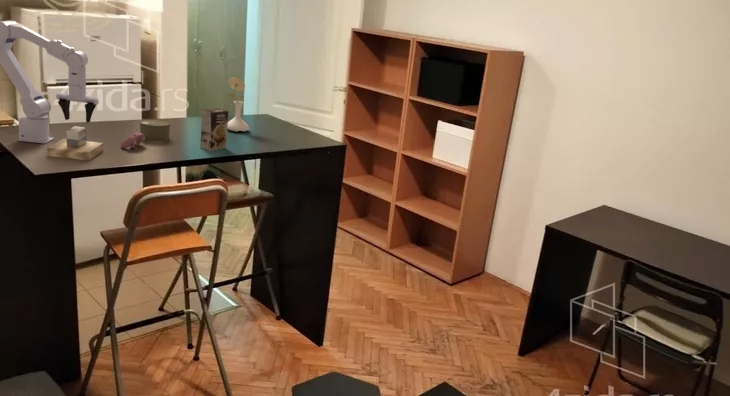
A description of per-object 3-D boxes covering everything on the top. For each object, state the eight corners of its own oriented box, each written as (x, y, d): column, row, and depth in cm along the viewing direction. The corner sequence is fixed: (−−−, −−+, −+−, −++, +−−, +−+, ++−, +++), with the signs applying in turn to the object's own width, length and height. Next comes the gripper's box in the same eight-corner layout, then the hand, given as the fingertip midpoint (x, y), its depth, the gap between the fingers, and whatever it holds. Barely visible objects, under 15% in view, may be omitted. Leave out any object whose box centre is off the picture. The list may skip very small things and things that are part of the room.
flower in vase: (253, 132, 281) (257, 80, 273) (236, 134, 271) (240, 80, 263) (234, 125, 287) (237, 75, 279) (217, 128, 278) (220, 75, 270)
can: (175, 140, 247) (175, 124, 244) (148, 142, 238) (148, 126, 236) (160, 133, 254) (161, 118, 252) (134, 135, 245) (134, 119, 243)
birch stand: (47, 156, 204) (47, 147, 203) (64, 146, 218) (64, 138, 217) (89, 160, 206) (88, 152, 205) (103, 150, 219) (103, 143, 218)
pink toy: (128, 153, 225) (135, 139, 223) (118, 146, 225) (126, 132, 223) (142, 148, 235) (149, 134, 232) (132, 141, 235) (140, 127, 232)
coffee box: (210, 151, 239) (212, 112, 233) (199, 147, 242) (201, 109, 236) (226, 148, 246) (229, 110, 241) (215, 144, 249) (218, 107, 244)
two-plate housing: (66, 146, 208) (66, 130, 206) (75, 142, 214) (74, 126, 212) (78, 148, 208) (78, 131, 206) (86, 143, 215) (86, 127, 213)
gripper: (101, 85, 219) (101, 121, 223) (61, 80, 218) (62, 116, 222) (94, 88, 212) (94, 124, 217) (53, 83, 211) (54, 119, 215)
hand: (77, 120), depth 219 cm, fingers open, 7 cm apart
